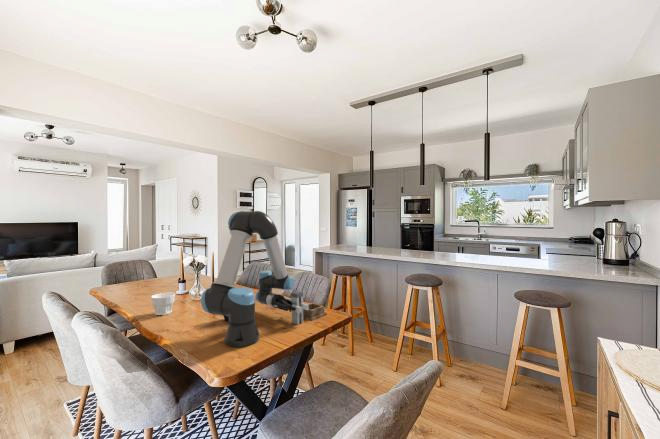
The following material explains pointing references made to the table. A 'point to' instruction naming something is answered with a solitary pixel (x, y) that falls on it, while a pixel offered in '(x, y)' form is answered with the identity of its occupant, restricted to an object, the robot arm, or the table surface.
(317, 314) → the box
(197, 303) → the table surface
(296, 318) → the steel tongs
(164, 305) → the cup
